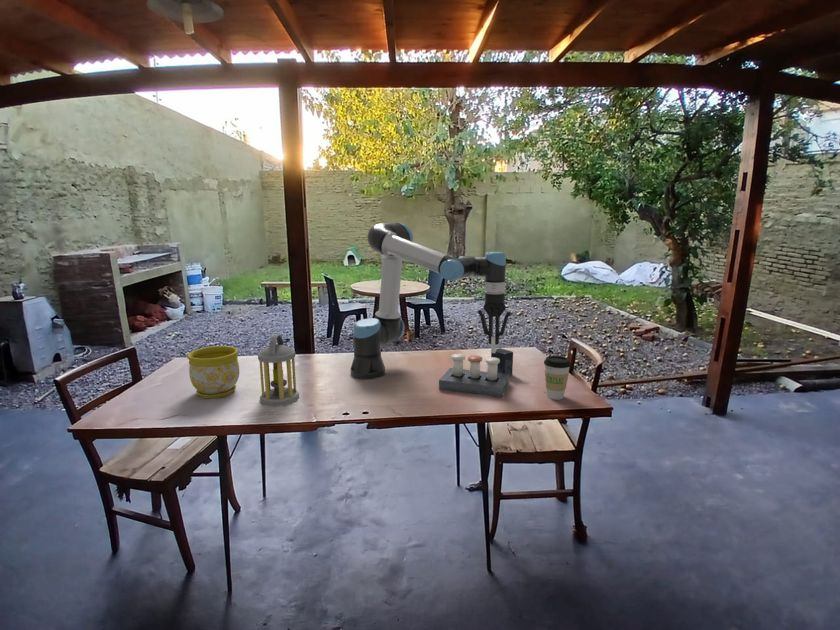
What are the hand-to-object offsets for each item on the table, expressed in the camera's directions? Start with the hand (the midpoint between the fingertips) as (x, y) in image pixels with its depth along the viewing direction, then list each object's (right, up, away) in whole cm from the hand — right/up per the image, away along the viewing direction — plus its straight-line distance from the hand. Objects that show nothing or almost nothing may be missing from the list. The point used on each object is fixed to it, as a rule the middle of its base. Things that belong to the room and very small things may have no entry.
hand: (493, 352), depth 185 cm
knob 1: (-13, -10, +7) cm, 18 cm away
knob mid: (-7, -10, +5) cm, 13 cm away
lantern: (-82, -17, -6) cm, 84 cm away
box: (+7, -11, +21) cm, 25 cm away
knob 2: (0, -11, +3) cm, 11 cm away
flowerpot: (-108, -16, 0) cm, 110 cm away
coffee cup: (+23, -17, -5) cm, 29 cm away
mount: (-7, -14, +6) cm, 17 cm away
